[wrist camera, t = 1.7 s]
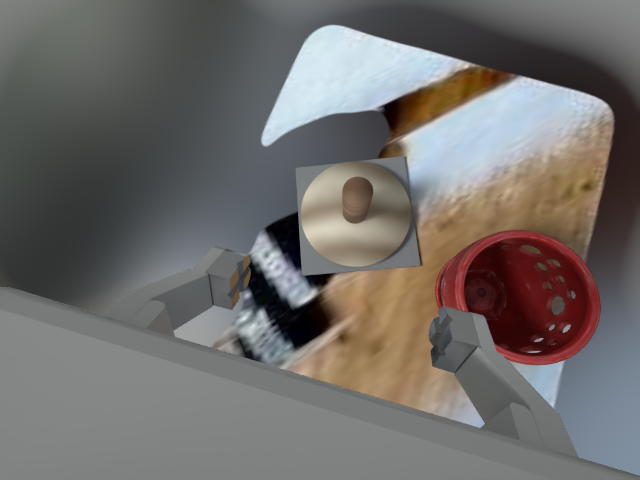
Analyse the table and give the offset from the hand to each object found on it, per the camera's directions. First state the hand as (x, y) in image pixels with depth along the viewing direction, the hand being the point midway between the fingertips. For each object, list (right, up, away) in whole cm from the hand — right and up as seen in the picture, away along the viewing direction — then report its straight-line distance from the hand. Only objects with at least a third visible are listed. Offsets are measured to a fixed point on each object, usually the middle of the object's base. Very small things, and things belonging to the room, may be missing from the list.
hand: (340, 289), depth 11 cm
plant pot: (+20, -6, +27) cm, 34 cm away
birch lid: (+4, +6, +30) cm, 31 cm away
